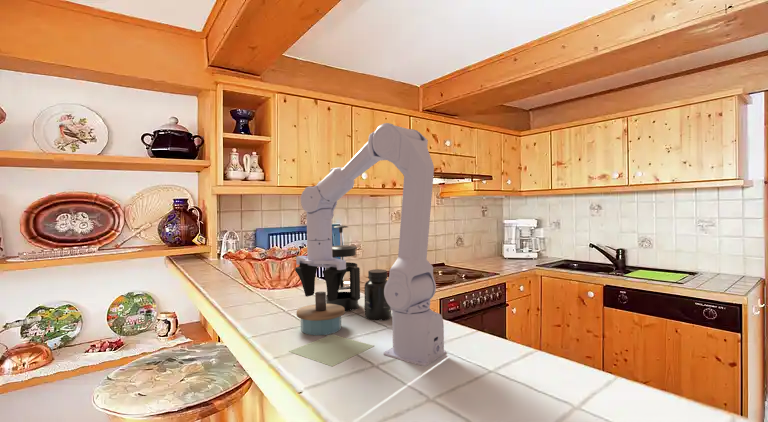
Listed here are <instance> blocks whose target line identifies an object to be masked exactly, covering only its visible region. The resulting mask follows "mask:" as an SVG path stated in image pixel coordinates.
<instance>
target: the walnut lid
mask: <svg viewBox="0 0 768 422" xmlns="http://www.w3.org/2000/svg"><path fill="white" fill-rule="evenodd" d="M326 295H327V291H316V292H314V296H315V299H314V300H315V301H314V304H309V305H305V306H302V307H299V308H298V309H297V310H296V317H297V318H299V319H300V320H301V319H304V320H312V321H319V320H329V319H334V318H337V317H340V316H341V317H342V316H343V315H345V313H346V311H345V308H344V307H343V306H341V305H336V304H326Z"/></svg>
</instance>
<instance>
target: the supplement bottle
mask: <svg viewBox="0 0 768 422" xmlns="http://www.w3.org/2000/svg"><path fill="white" fill-rule="evenodd" d="M367 279H369V280H367V281H366V282H365V283H364V317H365V319H366V320H369V321H370V320H371V321H387V320H389V319H391V317H392V310H391V307H390V306H389V305H388V303H387V302H386V299H385V296H384V287H385V284H386V282H387V281H388V271H387V270H386V269H377V268H376V269H369V270H368V274H367Z"/></svg>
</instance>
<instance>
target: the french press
mask: <svg viewBox="0 0 768 422" xmlns="http://www.w3.org/2000/svg"><path fill="white" fill-rule="evenodd" d="M333 228H334V229H338V233H339V235H340V238H339V239H340V244H339V245H332V257H333V258H340V260H343V258H347V257H354V256H356V254H357V253H356V250H357V249H358V247H357V246H355V245H348V244H343V241H342V239H343V238H342V237H343V236H342V234H343V229H344V228H349V226H348V225H335V226H332V229H333ZM328 269H329V270H330V268H325V270H328ZM348 272H349V281H344V280H343V279H342V281H341V284H340V287H339V291H338V295H337V300H334V301H328V297H327V294H326V304H336V305H341V306H343V307H344V308H345V312H351V311H355V310H357V309H358V308H359V306H360V303H359V300H360V299H361V275H360V274H361V268H360V267H358V263H355V262H351V261H350V262H348V261H346V273H348ZM340 290H341V291H340ZM343 290H349V291H343Z"/></svg>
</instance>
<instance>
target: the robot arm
mask: <svg viewBox="0 0 768 422" xmlns="http://www.w3.org/2000/svg"><path fill="white" fill-rule="evenodd" d="M367 139H368V141H367V142H366V143H365V144H364V145H363V146H362V147H361V148H360V150H358V152H357V153H356V154H355V155H354V156H353V157H352V158H351V159H350V160H349V161H348V162H347V163H346V164H345V165H344V167H341V166H338V167H332V168H330V169H329V173H328V174H327V175H326V176H325V177H324V178H323V179H322V180H319V181H318V182H317V183H316V185H314V186H306V187H305V188H304V189H303V191H302V192H301V196H300V204H301V205H300V206H301V207H302V209H303V211H304V212H306V243H307V244H306V248H307V249H306V252H307V253H306V255H299V256H296V257H295V261H296V265H299V266H296V267H294V270H295V273H296V274H297V276H298V278H299V280H300V282H301V285H302V288H303V293H304V296H305V297H307V298H308V297H311V296H315V282H316V274H317V272H318V268H325V269H324V270H322V274H323V276H324V280H325V285H326V295H327V297H328V301H334V300H337V295H338V292H340V290H339V287H340V284H341V281H342V280H343V278H344V277H345V275H346V274H347V272H346V262H347V260H345V259H342V260H341V258H340V259H339V258H338V257H332V246H333V221H332V220H333V218H334V212H335V209H336V208H337V205H338V201H339V200H340V199H341V198H343V196H345V195H346V194H347V193H348V192H350V190H352V189H353V188H354V186H355V180H356V179H357V178H358V177H359V176H361V175H362V174H364V173H365V172H367V170H369V169H370V168H372V167H373V166H375V165H376V163H379V162H380V161H387V162H389V163H391V164H393V165H394V166H395V167H396V168H397V170H399V172H400V173H401V174H402V175H403V183H402V184H403V187H402V200H401V201H402V202H401V213H400V224H399V225H400V226H399V227H400V228H399V240H398V250H397V253H398V254H397V255H398V256H397V258H396V260H395V261H394V263H393V264H392V266H391V267H390V269H389V276H388V277H387V282H386V284H385V287H384V296H385V299H386V302H387V303H388V305H389V306H390V307H391V317H392V326H391V327H392V347H391V348H389V349H386V351H383V355H384V356H385V357H389V358H393V359H397V360H401V361H404V362H408V363H410V364H414V365H418V366H421V367H427V366H428V365H431V363H433V362H434V361H436V360H437V359H439V358H441V357H442V356H444V355H445V354H446V353H447V352H446V350H445V346H444V345H445V341H444V338H445V335H444V331H445V330H444V326H445V324H444V319H443V315H442V314H441V313H439V312H436V311H433V309H431V308H430V307H431V300H432V299H433V297H434V296H435V294H436V292H437V285H436V281H435V277H434V266H433V265H432V264H431V263H430V262H429V261H428V259H427V257H428V248H429V247H428V245H429V234H430V224H431V223H430V220H431V209H432V198H433V186H434V185H433V184H434V176H435V175H434V174H435V166H434V162H433V160H432V157H431V155H430V152H429V149H428V144H429V143H428V142H429V140H428V139H427V138H426V137H425V136H424V135H423V134H422V133H421V132H420V131H418V130H417V129H414V128H411V129H410V128H406V127H403V126H398V125H394V124H393V123H390V122H384V123H381V124H380V125H379V126H377V128H376V129H375V130H374V131H372V132H370V133H369V135H368V138H367ZM326 268H330V270H329V269H328V270H326Z"/></svg>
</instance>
